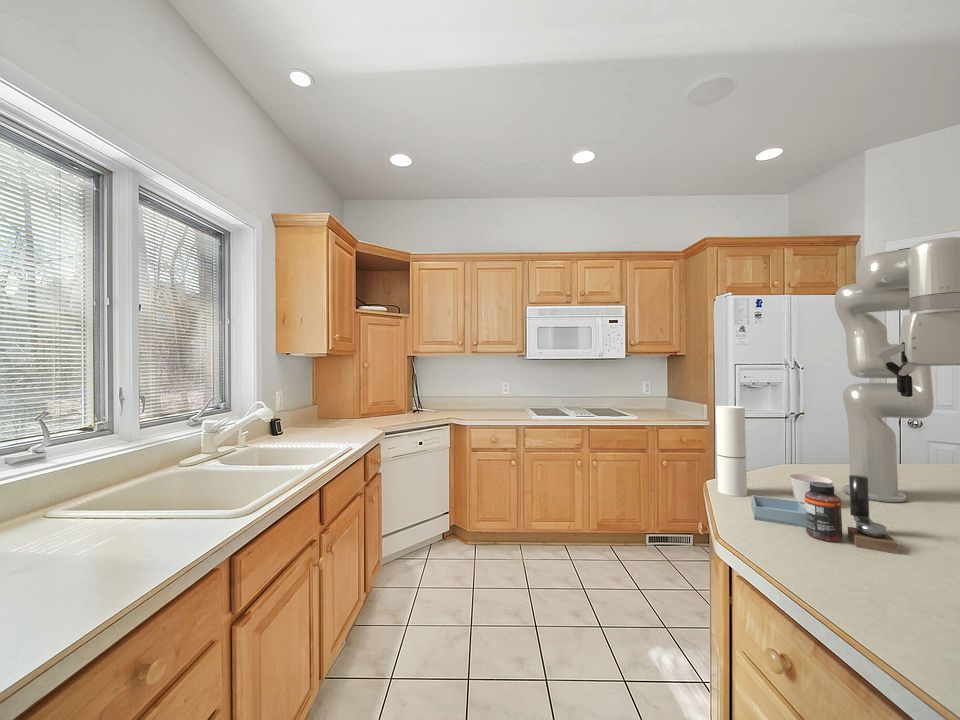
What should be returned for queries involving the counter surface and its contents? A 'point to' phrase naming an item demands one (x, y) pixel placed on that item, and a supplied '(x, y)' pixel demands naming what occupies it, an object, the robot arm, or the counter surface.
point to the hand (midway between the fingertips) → (942, 397)
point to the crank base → (872, 541)
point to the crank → (863, 507)
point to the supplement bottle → (823, 512)
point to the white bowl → (804, 484)
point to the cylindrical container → (731, 450)
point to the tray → (778, 510)
